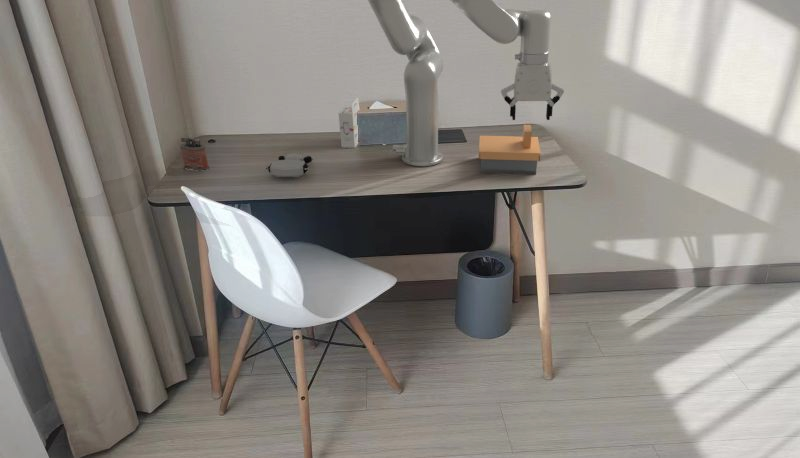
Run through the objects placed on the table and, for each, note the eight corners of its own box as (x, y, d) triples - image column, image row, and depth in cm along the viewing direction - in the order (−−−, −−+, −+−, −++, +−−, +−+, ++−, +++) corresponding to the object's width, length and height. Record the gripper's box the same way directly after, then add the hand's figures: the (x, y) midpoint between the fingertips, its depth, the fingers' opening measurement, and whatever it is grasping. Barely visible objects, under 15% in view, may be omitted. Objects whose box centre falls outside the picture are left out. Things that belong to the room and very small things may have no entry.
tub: (480, 172, 178) (481, 153, 175) (481, 157, 188) (481, 138, 185) (536, 174, 176) (537, 154, 173) (533, 158, 186) (535, 140, 183)
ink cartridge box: (347, 138, 205) (344, 96, 198) (361, 139, 205) (359, 96, 198) (340, 147, 198) (337, 103, 191) (355, 148, 197) (352, 104, 190)
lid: (478, 159, 175) (479, 134, 171) (479, 142, 187) (480, 119, 183) (540, 160, 173) (542, 136, 169) (537, 144, 184) (539, 121, 181)
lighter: (211, 167, 186) (205, 136, 181) (205, 172, 183) (199, 140, 178) (188, 165, 188) (182, 134, 183) (182, 169, 185) (175, 138, 180)
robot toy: (278, 165, 189) (264, 181, 175) (276, 151, 187) (262, 166, 173) (317, 165, 188) (306, 182, 174) (315, 151, 186) (305, 167, 172)
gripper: (502, 62, 164) (500, 123, 172) (567, 61, 161) (562, 122, 169) (501, 55, 170) (500, 114, 178) (565, 54, 168) (560, 114, 176)
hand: (530, 118), depth 174 cm, fingers open, 9 cm apart
